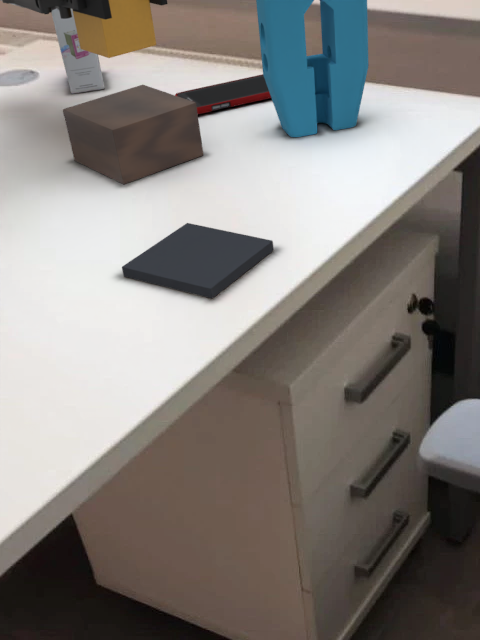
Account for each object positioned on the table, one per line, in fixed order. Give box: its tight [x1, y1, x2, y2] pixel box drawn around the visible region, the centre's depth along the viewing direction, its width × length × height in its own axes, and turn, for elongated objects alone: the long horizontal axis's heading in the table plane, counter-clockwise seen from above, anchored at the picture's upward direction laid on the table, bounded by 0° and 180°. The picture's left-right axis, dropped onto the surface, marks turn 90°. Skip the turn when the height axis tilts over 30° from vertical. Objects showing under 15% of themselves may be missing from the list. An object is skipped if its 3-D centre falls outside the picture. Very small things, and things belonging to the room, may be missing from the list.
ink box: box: [50, 8, 105, 94], centre depth 125 cm, size 9×5×12 cm, turn 13°
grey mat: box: [121, 222, 275, 299], centre depth 81 cm, size 10×10×1 cm
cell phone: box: [174, 73, 272, 115], centre depth 118 cm, size 8×15×1 cm, turn 116°
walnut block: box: [61, 84, 204, 185], centre depth 102 cm, size 11×11×6 cm
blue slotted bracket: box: [255, 0, 370, 138], centre depth 102 cm, size 12×5×20 cm, turn 107°
